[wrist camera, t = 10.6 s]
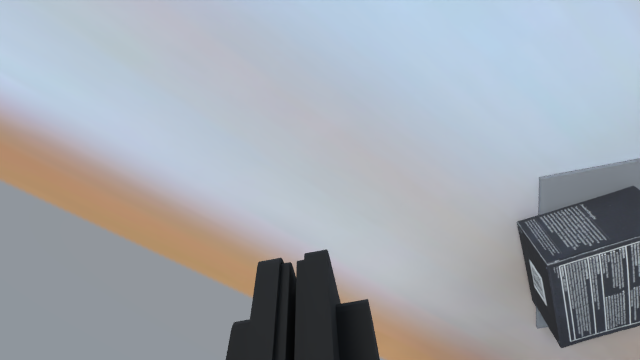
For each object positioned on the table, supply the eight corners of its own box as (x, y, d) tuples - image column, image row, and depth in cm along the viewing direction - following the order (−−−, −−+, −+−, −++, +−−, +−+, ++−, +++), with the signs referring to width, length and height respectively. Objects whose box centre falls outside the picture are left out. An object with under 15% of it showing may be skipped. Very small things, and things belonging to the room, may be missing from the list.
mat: (663, 154, 40) (666, 156, 40) (638, 308, 49) (641, 311, 49) (539, 177, 41) (541, 179, 41) (535, 325, 50) (537, 328, 49)
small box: (529, 298, 48) (637, 269, 46) (559, 351, 42) (684, 319, 40) (514, 217, 43) (635, 181, 41) (546, 264, 37) (688, 224, 35)
